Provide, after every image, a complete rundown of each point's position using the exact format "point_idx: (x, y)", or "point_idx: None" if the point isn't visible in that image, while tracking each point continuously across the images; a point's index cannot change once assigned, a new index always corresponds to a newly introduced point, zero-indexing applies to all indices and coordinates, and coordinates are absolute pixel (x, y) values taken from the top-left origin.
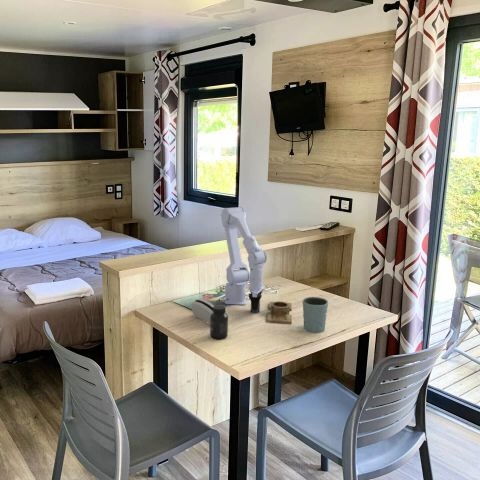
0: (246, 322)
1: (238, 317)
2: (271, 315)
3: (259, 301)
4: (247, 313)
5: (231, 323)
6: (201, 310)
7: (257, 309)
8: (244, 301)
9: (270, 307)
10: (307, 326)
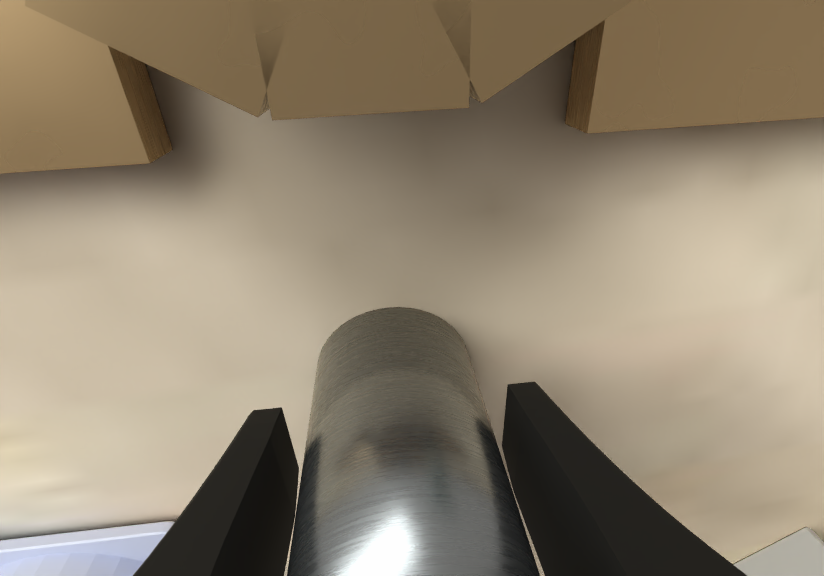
0: (810, 392)
1: None
2: (731, 32)
3: (467, 511)
4: None
5: (794, 500)
6: None
7: (468, 375)
8: (88, 562)
9: (137, 123)
10: None
